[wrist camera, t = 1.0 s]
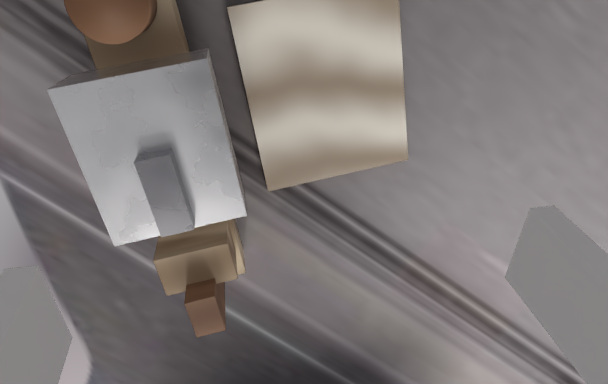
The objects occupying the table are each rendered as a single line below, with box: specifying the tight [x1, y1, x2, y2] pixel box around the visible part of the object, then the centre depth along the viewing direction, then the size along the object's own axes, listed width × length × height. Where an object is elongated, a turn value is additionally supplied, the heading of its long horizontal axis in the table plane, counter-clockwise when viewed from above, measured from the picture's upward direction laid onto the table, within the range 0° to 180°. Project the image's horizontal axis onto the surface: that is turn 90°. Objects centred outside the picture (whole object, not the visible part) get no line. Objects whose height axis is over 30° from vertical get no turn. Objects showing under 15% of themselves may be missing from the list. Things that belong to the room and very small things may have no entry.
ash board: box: [227, 0, 408, 191], centre depth 33 cm, size 14×12×1 cm
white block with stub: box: [47, 48, 247, 246], centre depth 27 cm, size 10×8×6 cm
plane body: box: [64, 0, 246, 337], centre depth 29 cm, size 23×6×10 cm, turn 9°
